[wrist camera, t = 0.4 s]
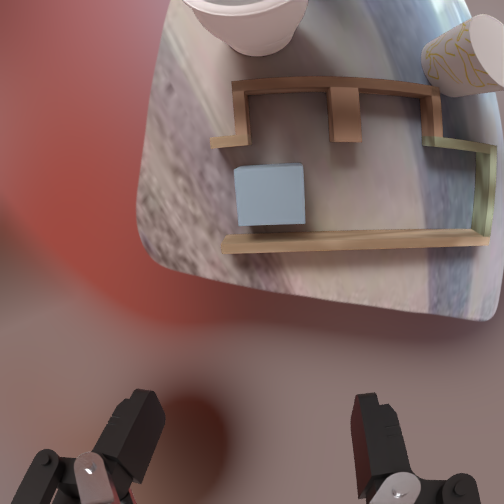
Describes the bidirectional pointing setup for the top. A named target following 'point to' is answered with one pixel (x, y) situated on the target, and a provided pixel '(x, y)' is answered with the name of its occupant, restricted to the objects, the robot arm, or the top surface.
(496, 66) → the white cylinder
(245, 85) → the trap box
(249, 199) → the block
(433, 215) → the top surface
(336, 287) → the top surface
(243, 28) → the jar
